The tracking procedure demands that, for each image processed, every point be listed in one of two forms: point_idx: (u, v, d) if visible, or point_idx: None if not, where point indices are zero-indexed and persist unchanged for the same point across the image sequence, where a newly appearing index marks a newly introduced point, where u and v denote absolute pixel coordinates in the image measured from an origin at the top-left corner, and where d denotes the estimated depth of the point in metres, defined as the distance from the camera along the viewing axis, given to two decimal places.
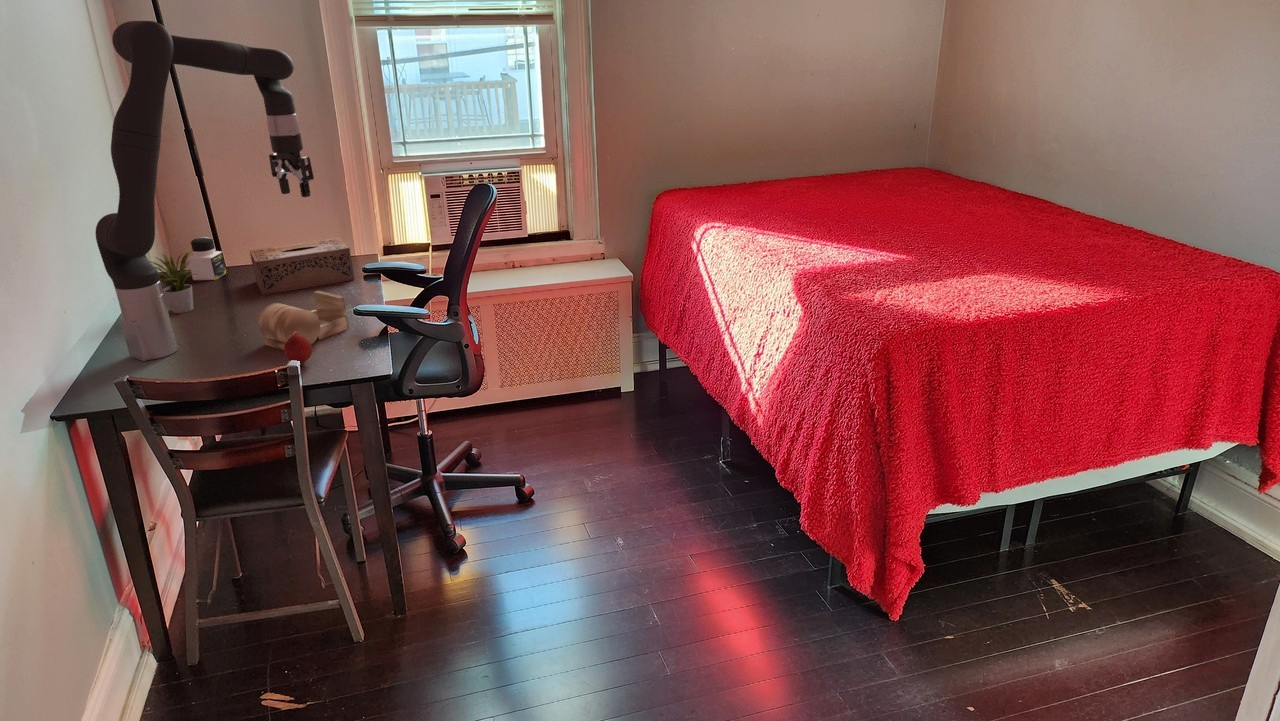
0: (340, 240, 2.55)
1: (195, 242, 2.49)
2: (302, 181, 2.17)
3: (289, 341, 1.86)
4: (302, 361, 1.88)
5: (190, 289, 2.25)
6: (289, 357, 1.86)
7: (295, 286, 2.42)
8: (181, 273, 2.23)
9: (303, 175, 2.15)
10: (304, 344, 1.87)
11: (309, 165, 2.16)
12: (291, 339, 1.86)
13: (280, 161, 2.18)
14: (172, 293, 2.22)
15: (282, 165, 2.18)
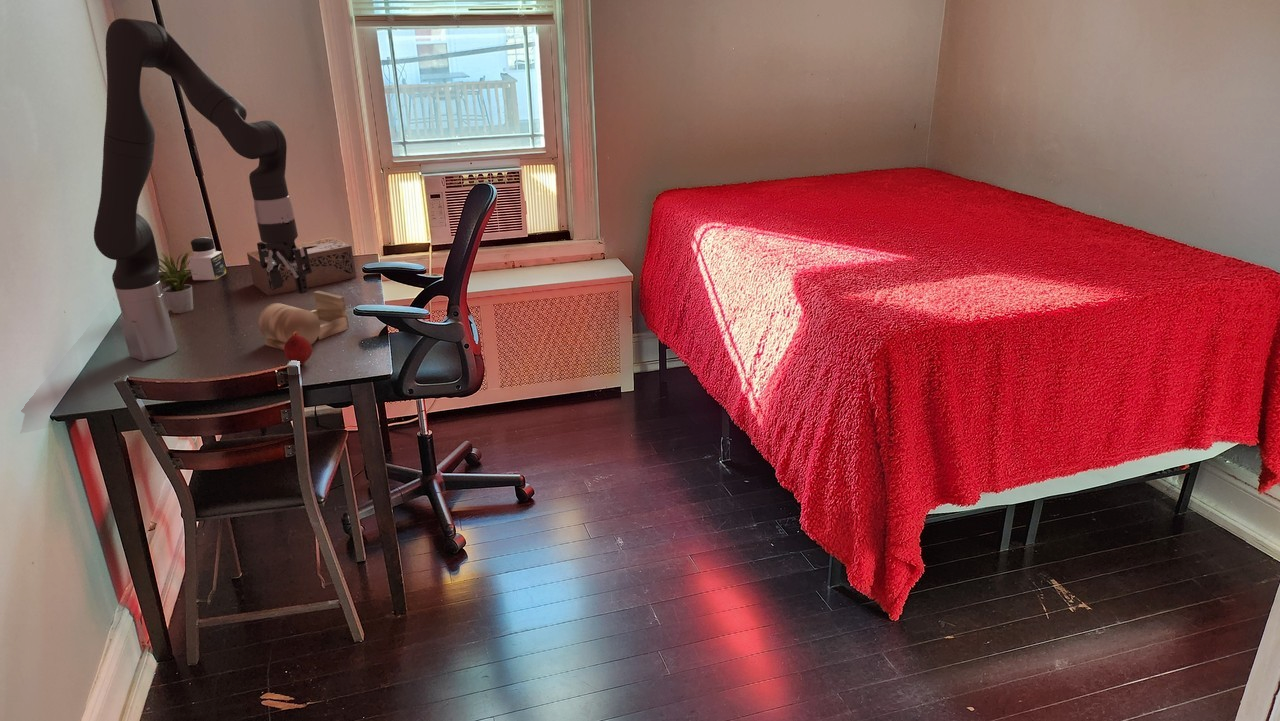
0: (336, 239, 2.56)
1: (195, 242, 2.49)
2: (298, 276, 1.81)
3: (289, 341, 1.86)
4: (302, 361, 1.88)
5: (190, 289, 2.25)
6: (289, 357, 1.86)
7: None
8: (181, 273, 2.23)
9: (299, 269, 1.79)
10: (304, 344, 1.87)
11: (306, 257, 1.79)
12: (291, 339, 1.86)
13: (271, 252, 1.81)
14: (172, 293, 2.22)
15: (273, 256, 1.82)
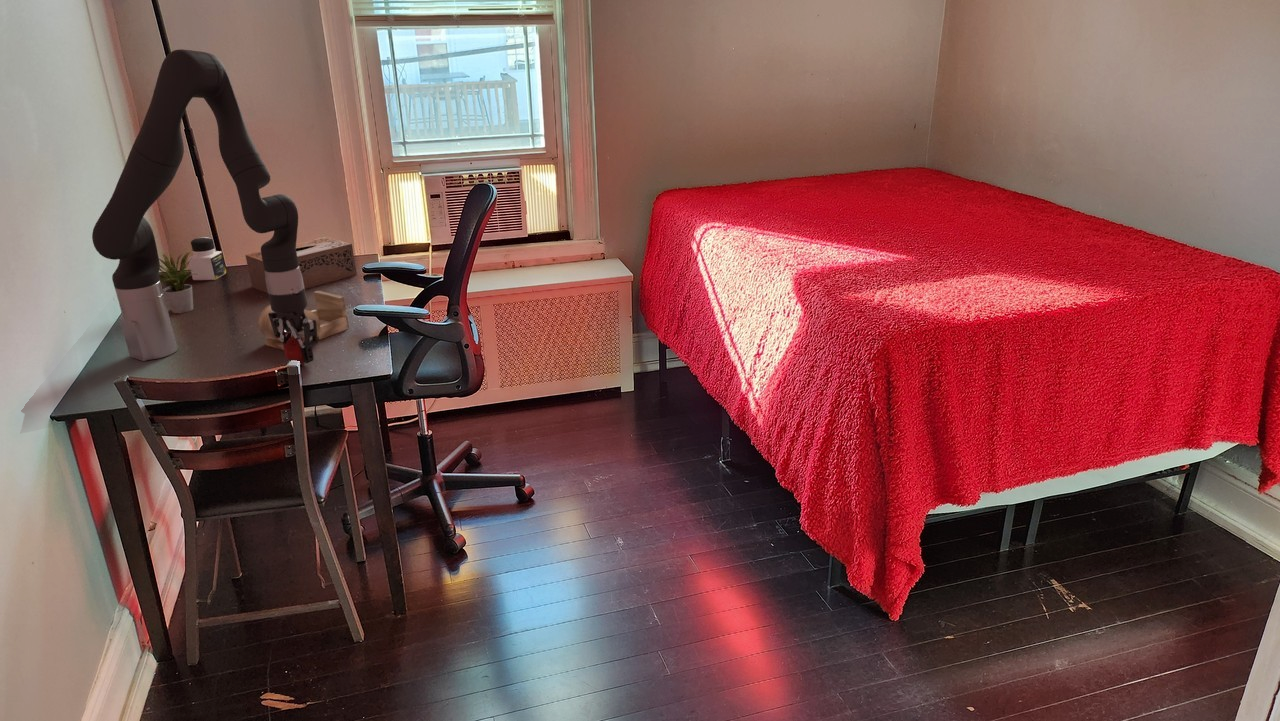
0: (331, 238, 2.57)
1: (195, 242, 2.49)
2: (304, 346, 1.85)
3: (289, 341, 1.86)
4: (302, 361, 1.88)
5: (190, 289, 2.25)
6: (289, 357, 1.86)
7: (305, 285, 2.43)
8: (181, 273, 2.23)
9: (306, 340, 1.83)
10: None
11: (314, 329, 1.83)
12: (291, 339, 1.86)
13: (281, 320, 1.85)
14: (172, 293, 2.22)
15: (284, 324, 1.85)
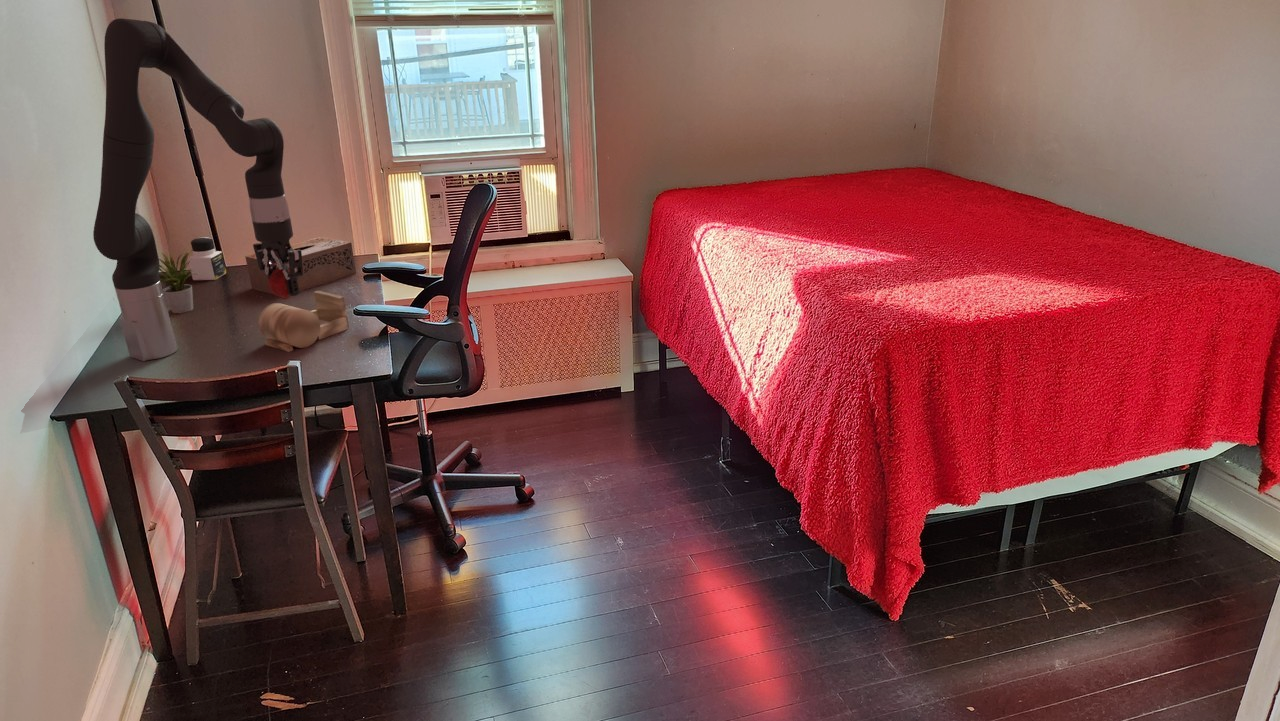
0: (327, 238, 2.58)
1: (195, 242, 2.49)
2: (289, 278, 1.79)
3: (274, 273, 1.81)
4: (287, 294, 1.82)
5: (190, 289, 2.25)
6: (274, 289, 1.81)
7: (309, 284, 2.43)
8: (181, 273, 2.23)
9: (291, 271, 1.78)
10: None
11: (300, 260, 1.78)
12: (276, 271, 1.81)
13: (265, 251, 1.79)
14: (172, 293, 2.22)
15: (268, 255, 1.80)
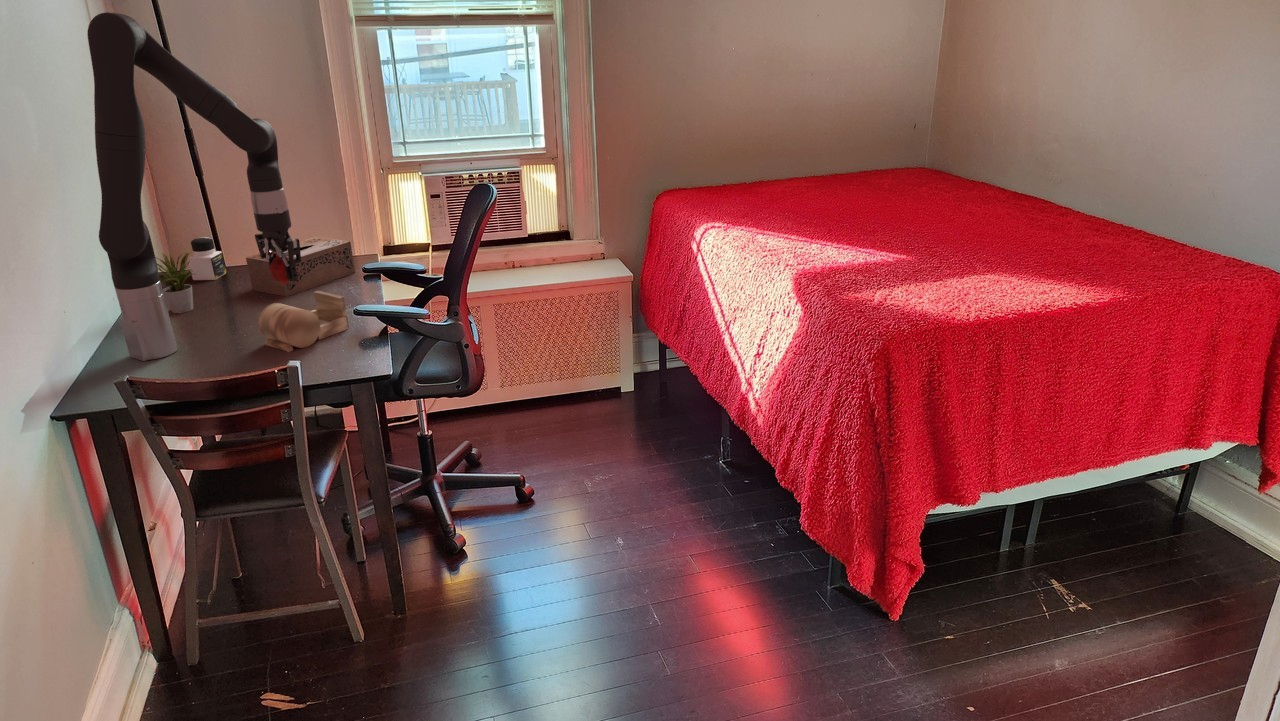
0: (324, 238, 2.58)
1: (195, 242, 2.49)
2: (288, 264, 1.96)
3: (274, 260, 1.97)
4: (287, 280, 1.99)
5: (190, 289, 2.25)
6: (274, 275, 1.97)
7: (311, 284, 2.44)
8: (181, 273, 2.23)
9: (290, 259, 1.94)
10: None
11: (298, 248, 1.94)
12: (277, 258, 1.97)
13: (266, 240, 1.96)
14: (172, 293, 2.22)
15: (269, 244, 1.96)
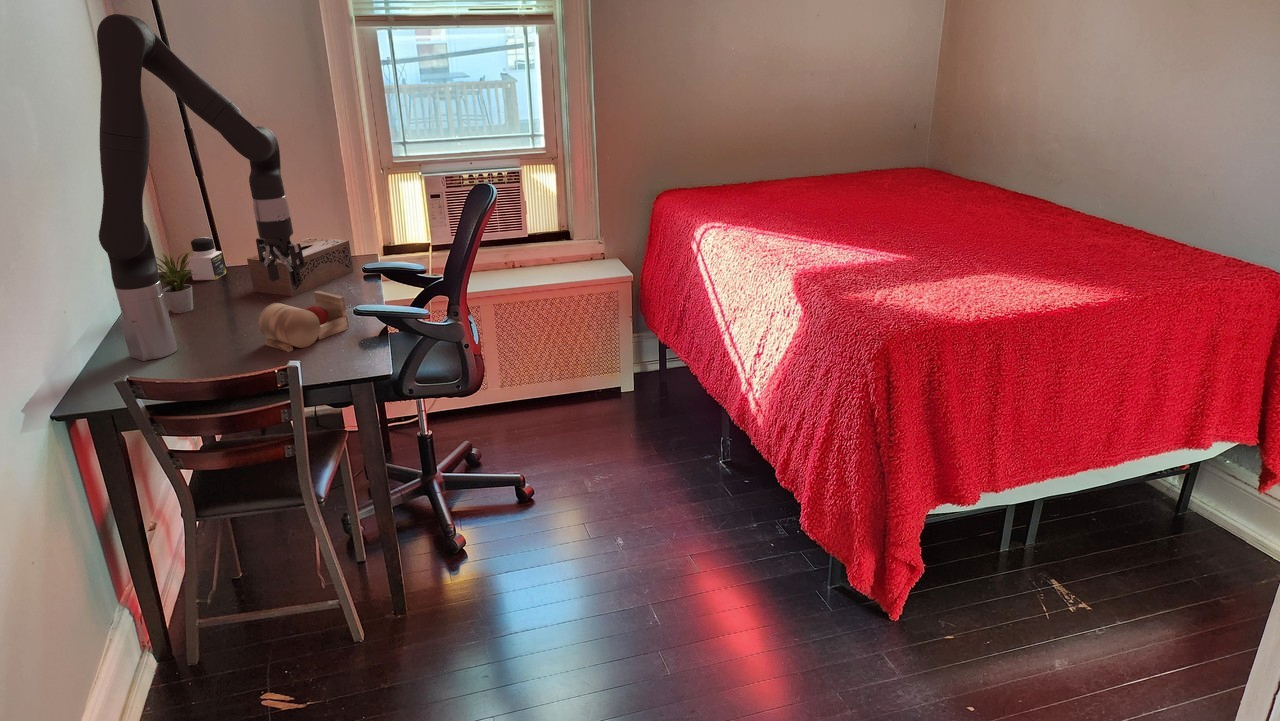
0: (320, 238, 2.58)
1: (195, 242, 2.49)
2: (292, 270, 1.96)
3: None
4: None
5: (190, 289, 2.25)
6: (311, 308, 2.07)
7: (314, 283, 2.44)
8: (181, 273, 2.23)
9: (293, 264, 1.94)
10: (326, 317, 2.09)
11: (300, 252, 1.94)
12: (324, 309, 2.11)
13: (268, 247, 1.96)
14: (172, 293, 2.22)
15: (270, 251, 1.97)
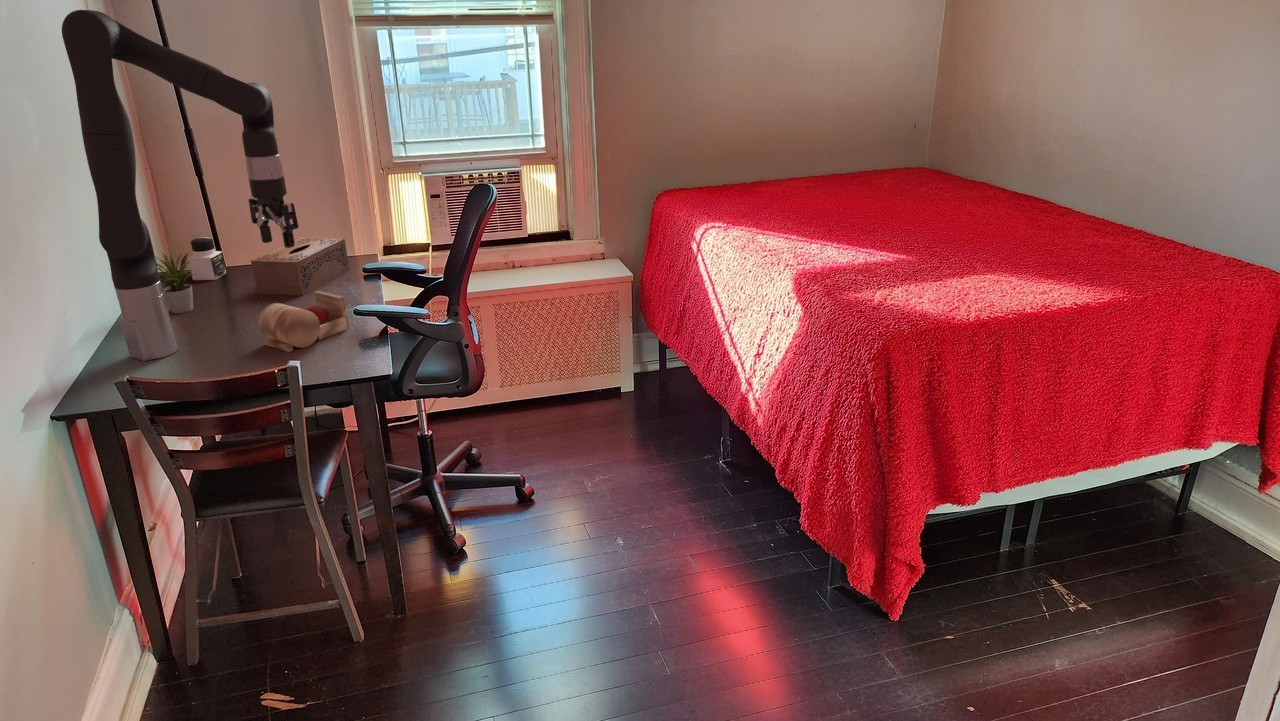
0: (312, 238, 2.58)
1: (195, 242, 2.49)
2: (285, 230, 1.92)
3: None
4: None
5: (190, 289, 2.25)
6: (312, 308, 2.07)
7: (319, 282, 2.45)
8: (181, 273, 2.23)
9: (286, 224, 1.90)
10: (327, 317, 2.09)
11: (293, 212, 1.91)
12: None
13: (261, 207, 1.93)
14: (172, 293, 2.22)
15: (263, 211, 1.93)
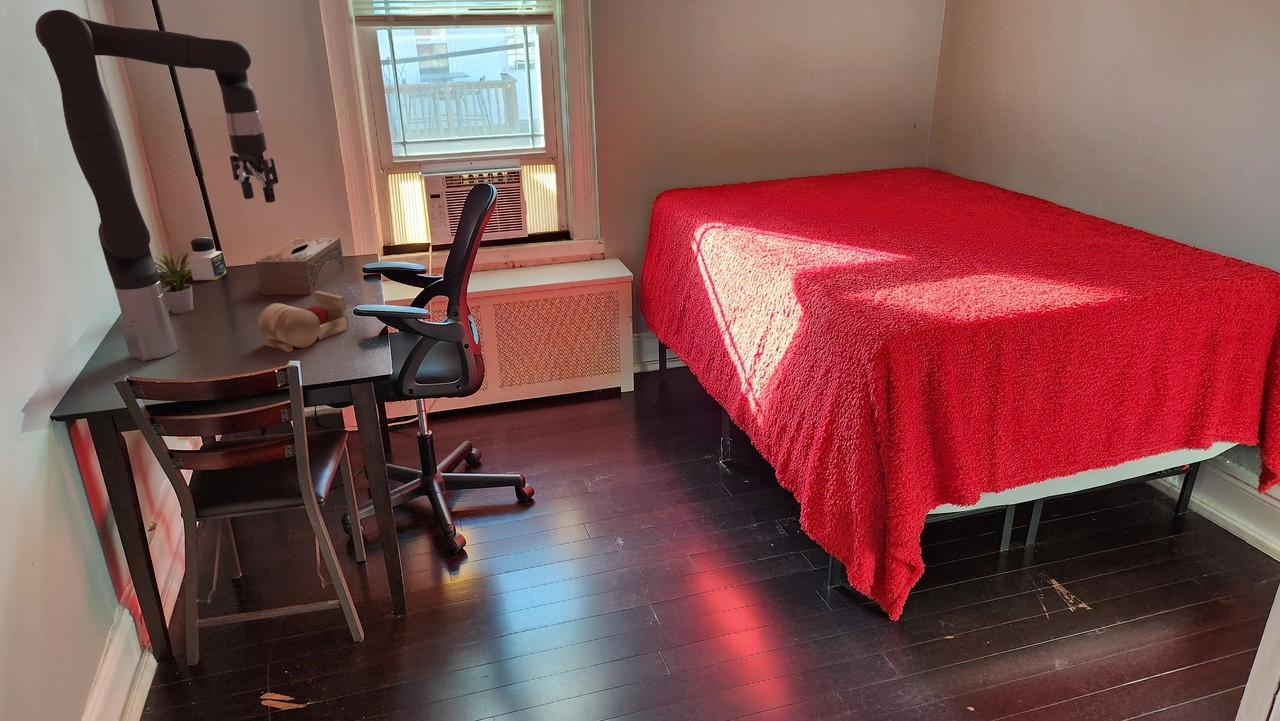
0: (305, 238, 2.58)
1: (195, 242, 2.49)
2: (265, 185, 1.98)
3: None
4: None
5: (190, 289, 2.25)
6: (312, 308, 2.07)
7: (323, 281, 2.46)
8: (181, 273, 2.23)
9: (266, 178, 1.96)
10: (327, 317, 2.09)
11: (273, 167, 1.96)
12: None
13: (241, 163, 1.98)
14: (172, 293, 2.22)
15: (244, 167, 1.99)
